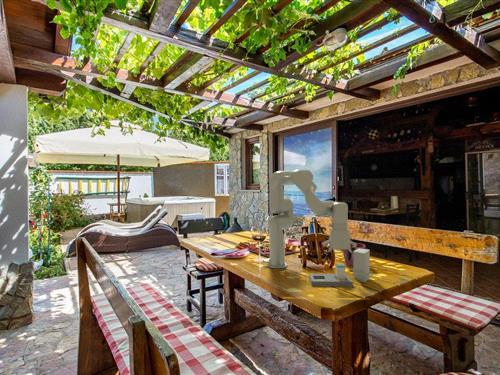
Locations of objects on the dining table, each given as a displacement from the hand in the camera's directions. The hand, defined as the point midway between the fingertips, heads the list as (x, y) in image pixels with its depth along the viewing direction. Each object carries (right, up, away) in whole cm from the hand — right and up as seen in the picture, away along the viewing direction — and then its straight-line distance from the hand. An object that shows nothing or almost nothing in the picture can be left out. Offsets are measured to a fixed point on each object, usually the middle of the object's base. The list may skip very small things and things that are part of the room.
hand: (339, 259), depth 153 cm
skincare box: (+14, -12, +6) cm, 19 cm away
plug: (+1, -12, 0) cm, 12 cm away
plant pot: (+18, -12, +31) cm, 38 cm away
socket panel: (-5, -12, 0) cm, 13 cm away
